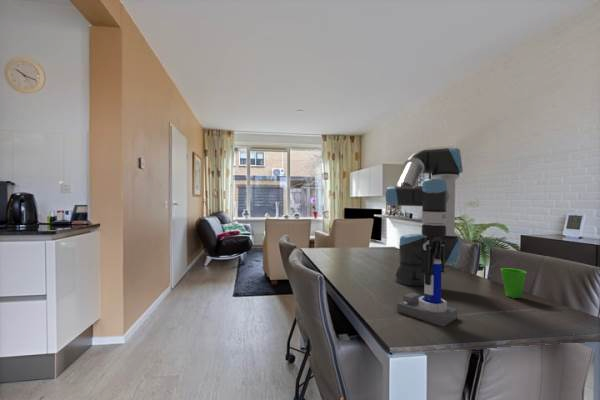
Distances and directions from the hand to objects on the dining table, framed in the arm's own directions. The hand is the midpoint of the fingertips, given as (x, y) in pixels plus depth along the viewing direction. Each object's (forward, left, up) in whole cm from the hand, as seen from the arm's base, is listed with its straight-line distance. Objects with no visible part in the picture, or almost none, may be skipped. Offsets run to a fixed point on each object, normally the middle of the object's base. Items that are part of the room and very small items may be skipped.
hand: (432, 292), depth 99 cm
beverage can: (0, 0, -4) cm, 4 cm away
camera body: (-2, 0, -8) cm, 8 cm away
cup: (+12, +48, -8) cm, 50 cm away
